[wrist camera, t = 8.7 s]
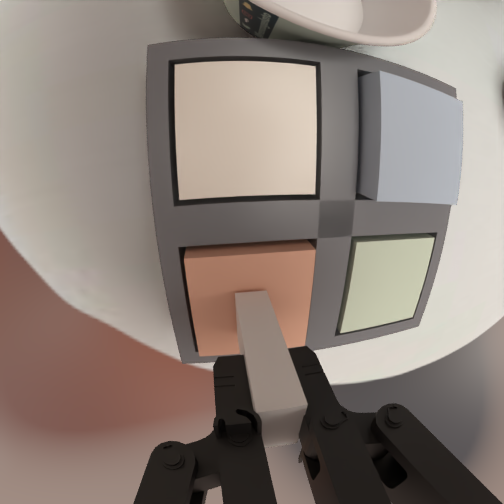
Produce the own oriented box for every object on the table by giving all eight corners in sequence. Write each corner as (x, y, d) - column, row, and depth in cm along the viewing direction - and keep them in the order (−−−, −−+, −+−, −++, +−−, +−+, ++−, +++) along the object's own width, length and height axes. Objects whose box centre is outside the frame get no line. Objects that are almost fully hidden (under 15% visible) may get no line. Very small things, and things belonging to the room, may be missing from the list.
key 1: (337, 226, 15) (356, 242, 13) (411, 224, 16) (434, 237, 14) (326, 310, 18) (340, 333, 16) (395, 298, 19) (412, 317, 16)
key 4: (181, 77, 11) (174, 64, 9) (298, 77, 12) (315, 66, 9) (185, 189, 13) (179, 200, 11) (298, 184, 14) (315, 194, 12)
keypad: (163, 66, 12) (147, 45, 8) (417, 91, 14) (455, 88, 10) (185, 323, 19) (182, 363, 15) (393, 299, 21) (418, 326, 17)
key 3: (353, 78, 11) (379, 70, 9) (434, 101, 12) (462, 101, 9) (351, 190, 13) (376, 201, 11) (429, 194, 14) (457, 204, 12)
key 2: (188, 238, 14) (183, 258, 12) (300, 231, 15) (316, 249, 12) (200, 328, 16) (199, 356, 14) (293, 320, 17) (304, 345, 15)
